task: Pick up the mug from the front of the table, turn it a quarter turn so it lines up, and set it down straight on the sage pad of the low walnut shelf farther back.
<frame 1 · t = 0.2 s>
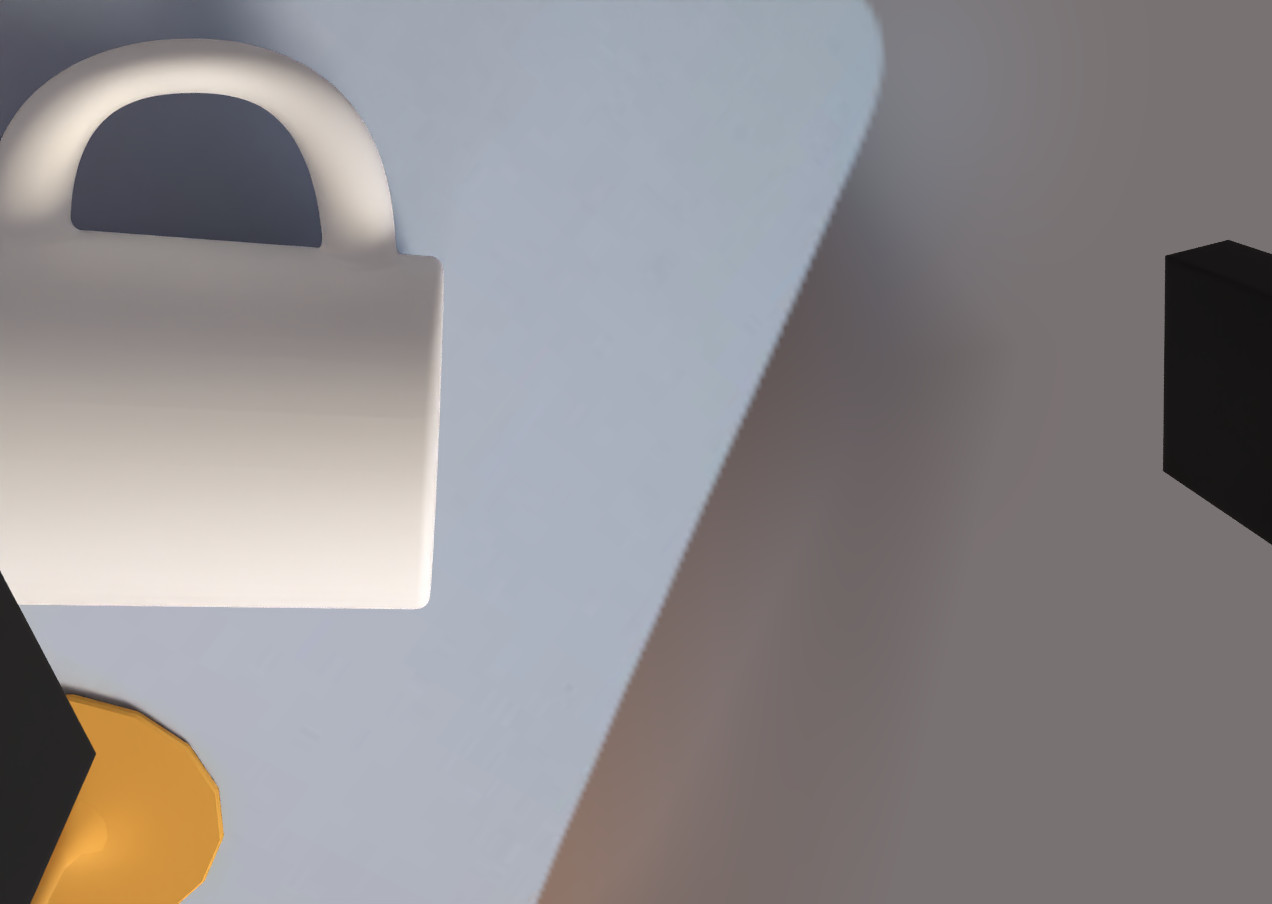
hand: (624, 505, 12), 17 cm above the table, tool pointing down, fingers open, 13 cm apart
cup: (64, 815, 32), on the table
mug: (235, 286, 27), on the table
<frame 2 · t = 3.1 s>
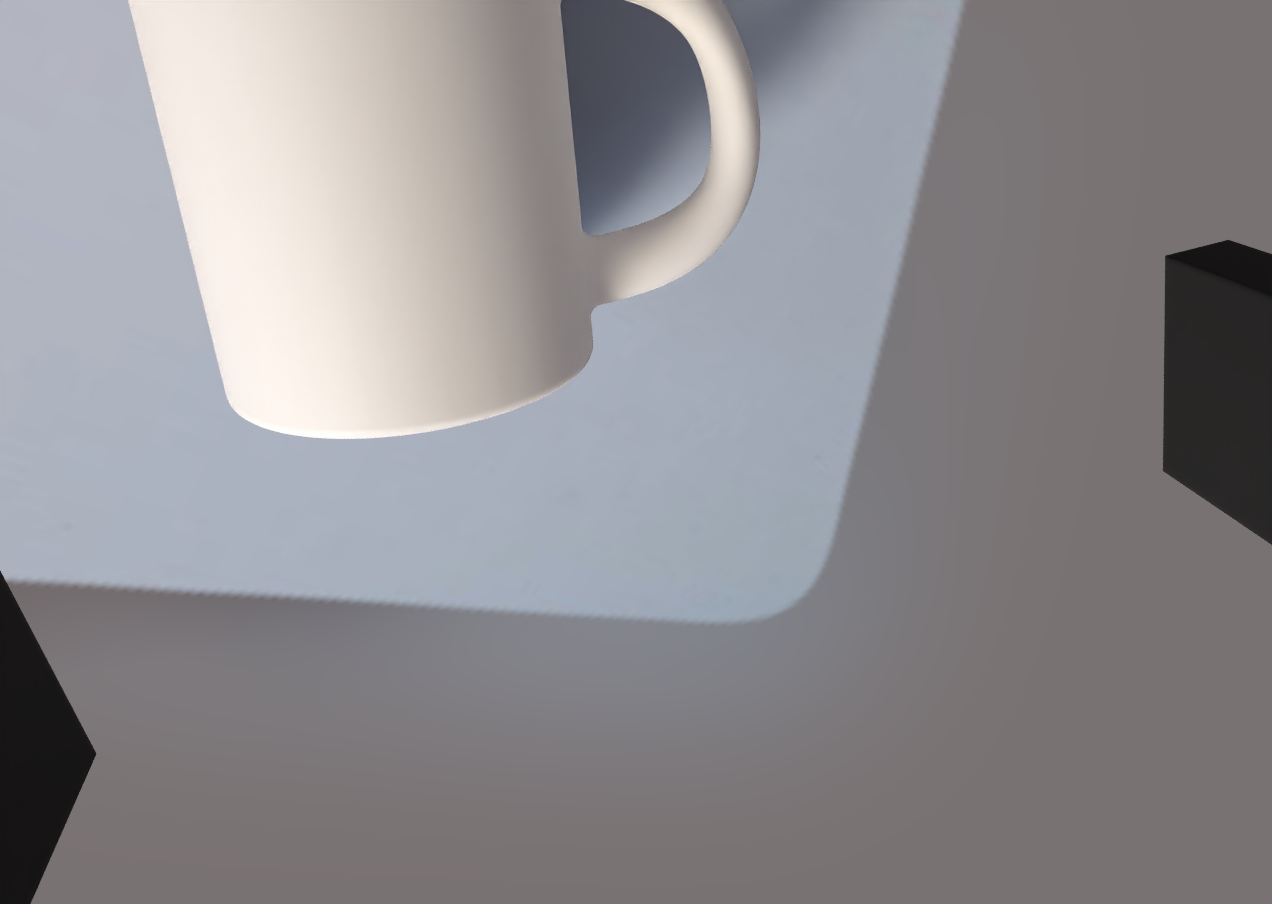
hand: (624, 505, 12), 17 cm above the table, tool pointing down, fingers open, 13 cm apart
mug: (469, 108, 26), on the table
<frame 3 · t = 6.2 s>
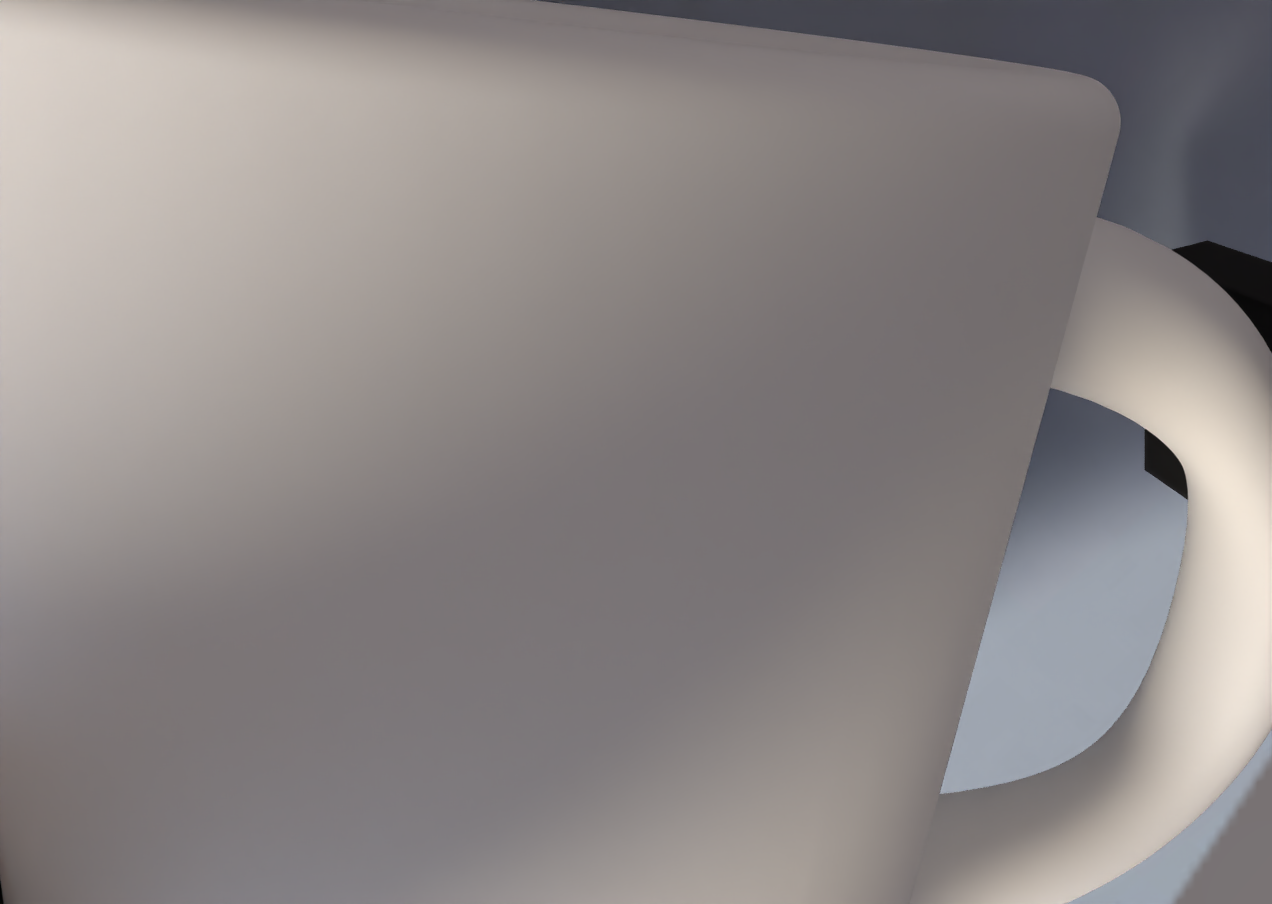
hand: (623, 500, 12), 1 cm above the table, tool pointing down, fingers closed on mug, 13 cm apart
mug: (643, 437, 14), on the table, touching gripper
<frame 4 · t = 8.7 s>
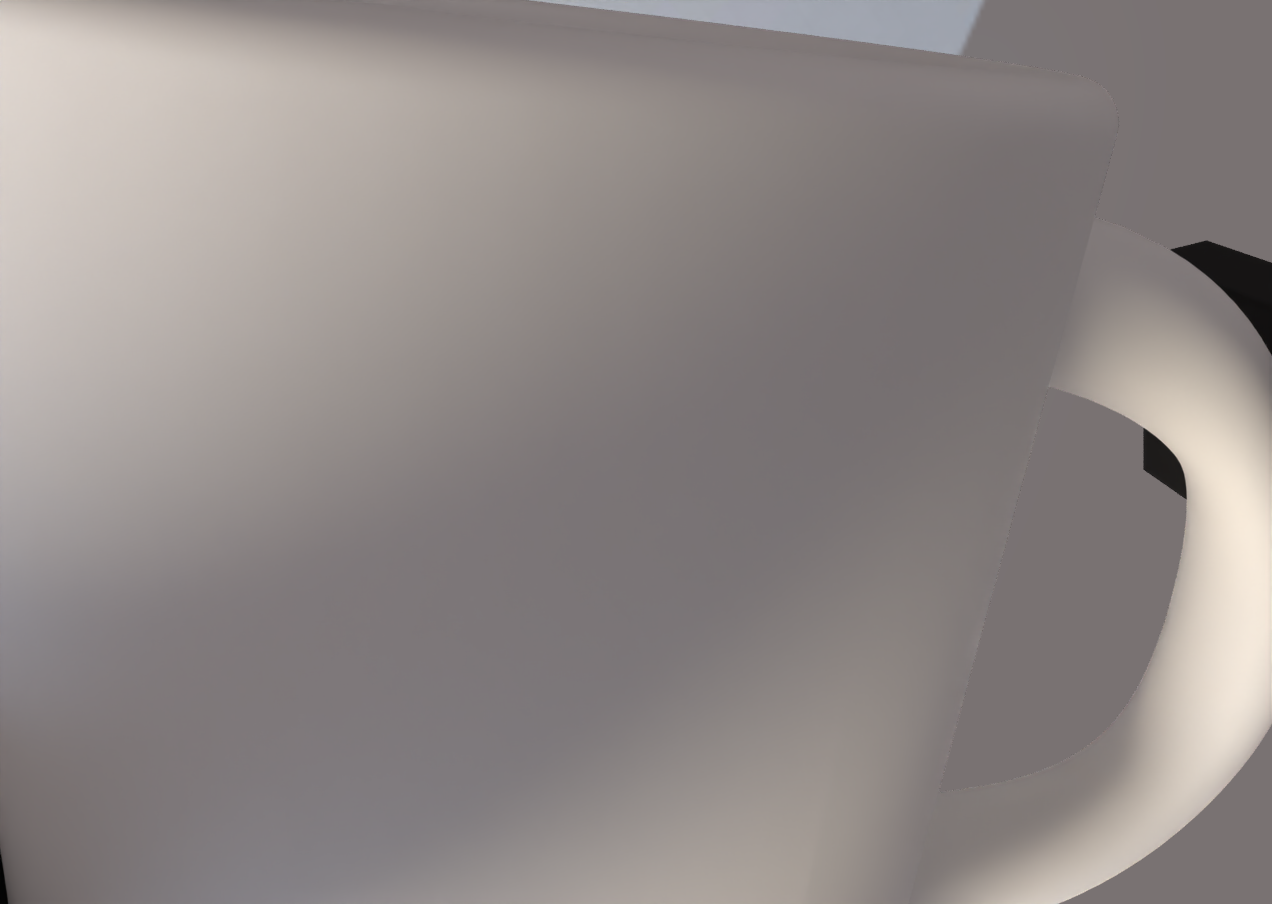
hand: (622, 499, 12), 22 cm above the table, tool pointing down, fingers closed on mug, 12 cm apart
mug: (643, 437, 14), point 20 cm above the table, touching gripper
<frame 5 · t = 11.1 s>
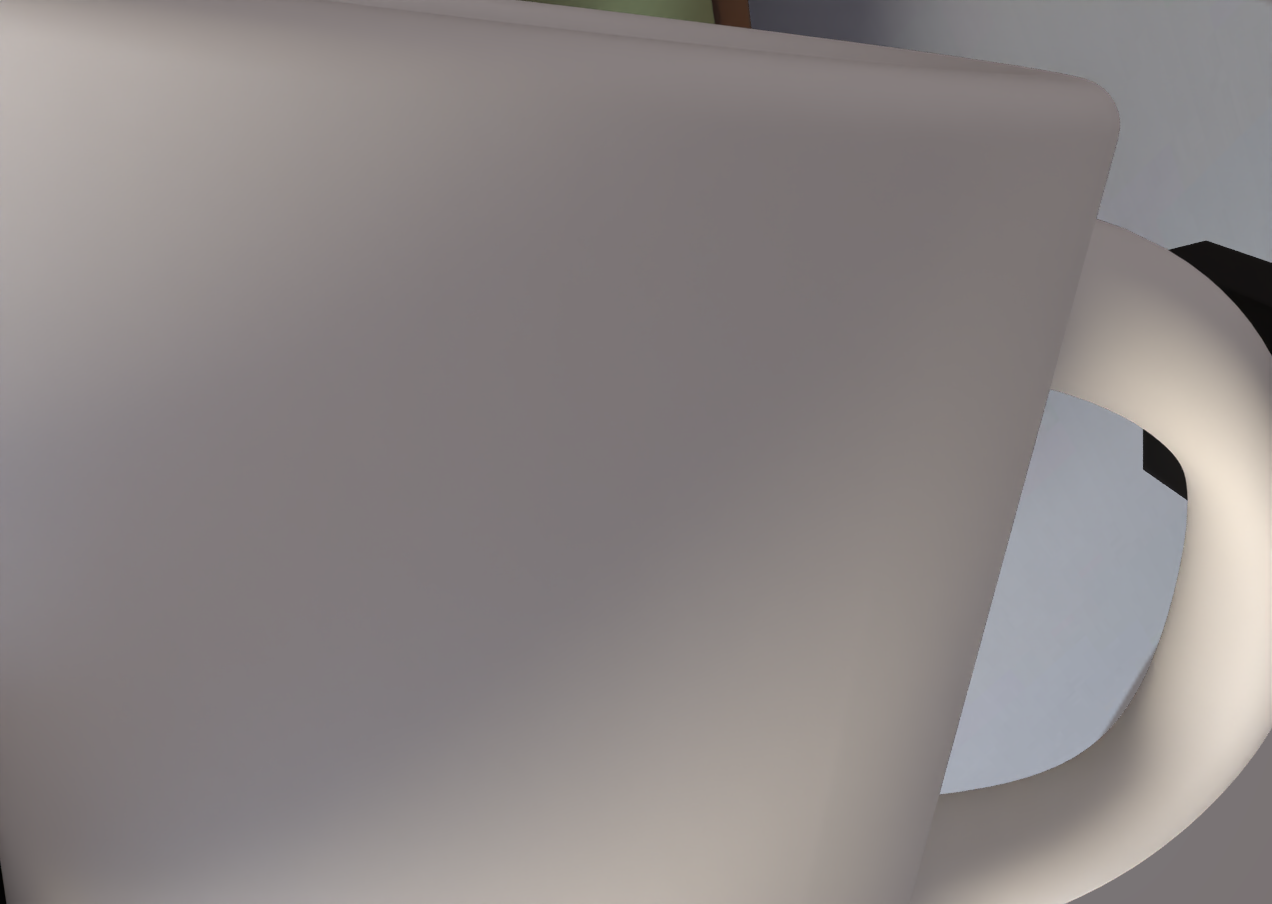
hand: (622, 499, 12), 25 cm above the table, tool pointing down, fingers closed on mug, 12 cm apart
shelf: (499, 159, 34), on the table
mug: (643, 438, 14), point 23 cm above the table, touching gripper
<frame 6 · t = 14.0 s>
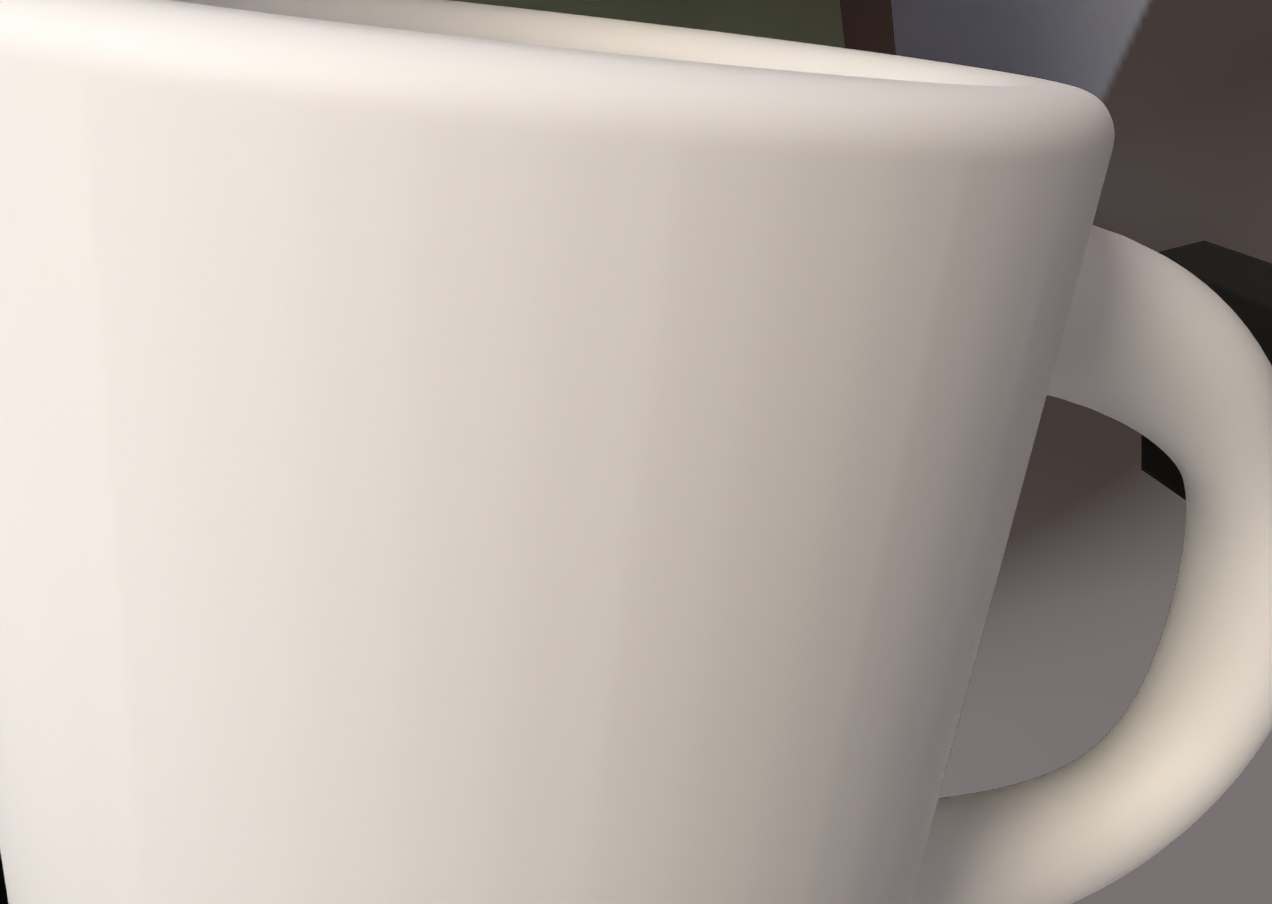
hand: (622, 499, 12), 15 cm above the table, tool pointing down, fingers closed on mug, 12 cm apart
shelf: (525, 230, 26), on the table
mug: (643, 443, 14), point 13 cm above the table, touching gripper
when the fingers open (8 cm above the table, at t = 16.3 s): mug stays where it is, resting on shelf.
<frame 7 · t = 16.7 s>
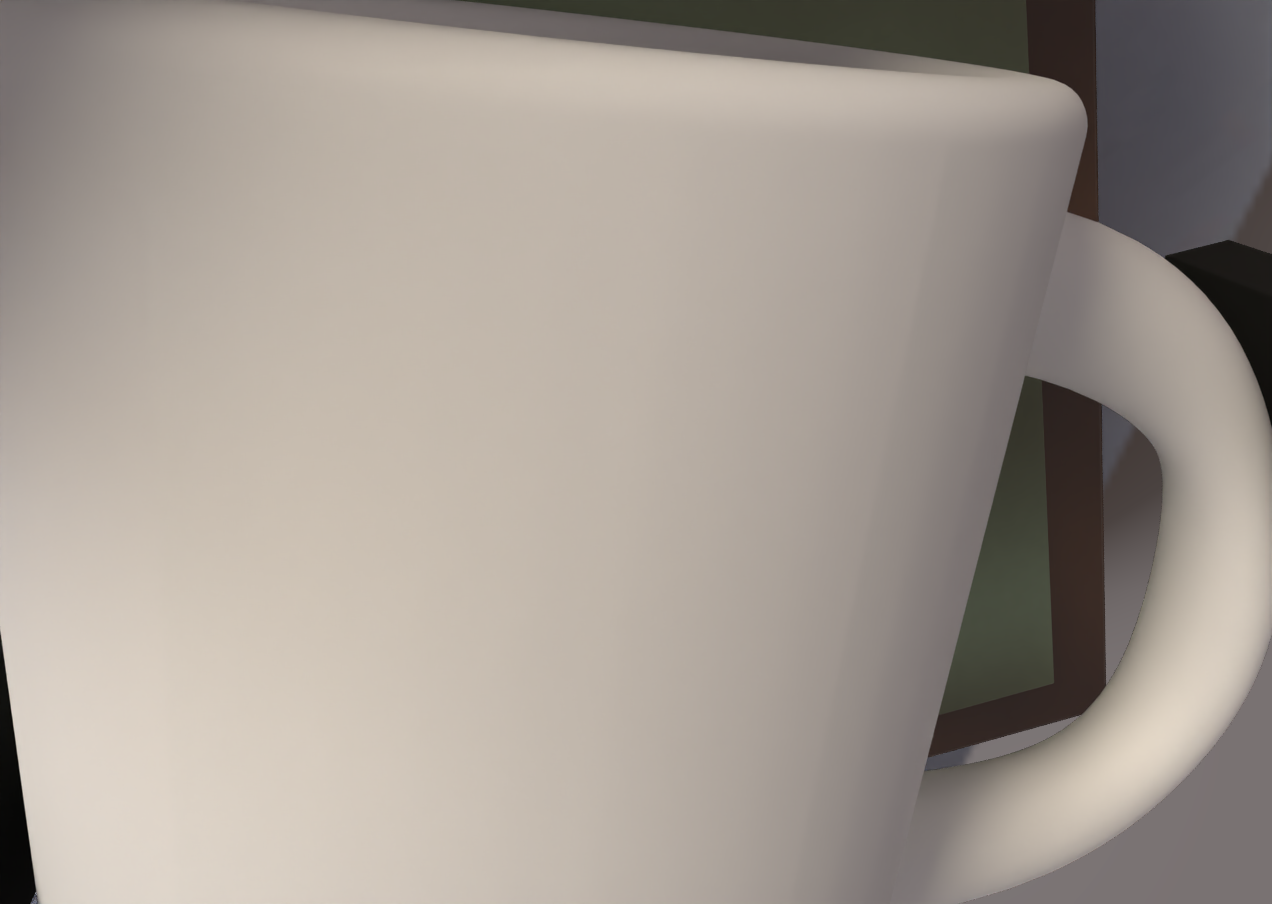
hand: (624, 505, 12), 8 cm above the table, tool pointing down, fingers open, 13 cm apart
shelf: (552, 300, 20), on the table
mug: (638, 430, 14), point 6 cm above the table, touching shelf
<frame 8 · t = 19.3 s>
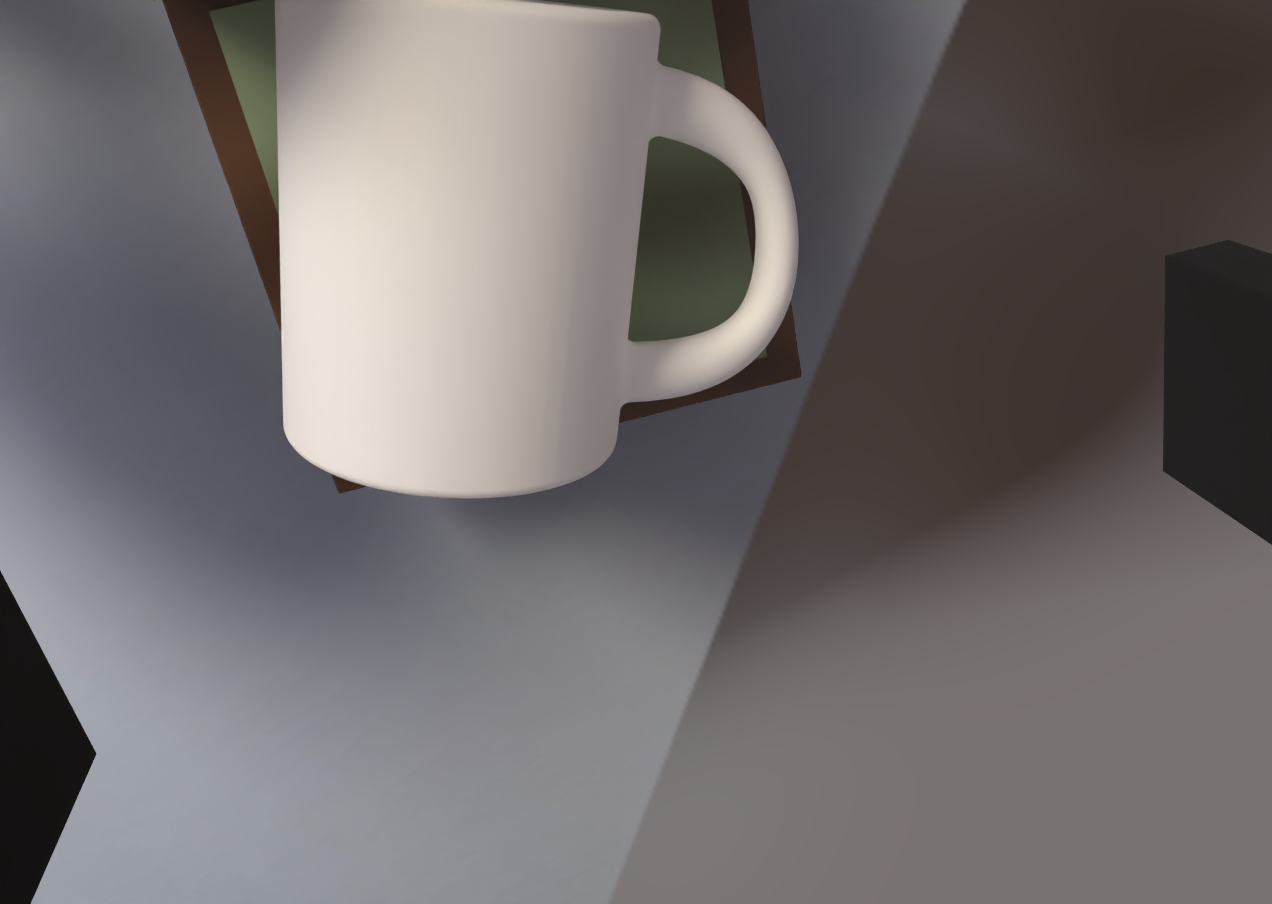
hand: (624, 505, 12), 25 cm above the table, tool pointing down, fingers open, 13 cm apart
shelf: (503, 164, 34), on the table
mug: (535, 202, 29), point 6 cm above the table, touching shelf
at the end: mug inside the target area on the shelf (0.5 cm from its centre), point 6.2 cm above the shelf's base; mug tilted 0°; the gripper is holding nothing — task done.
